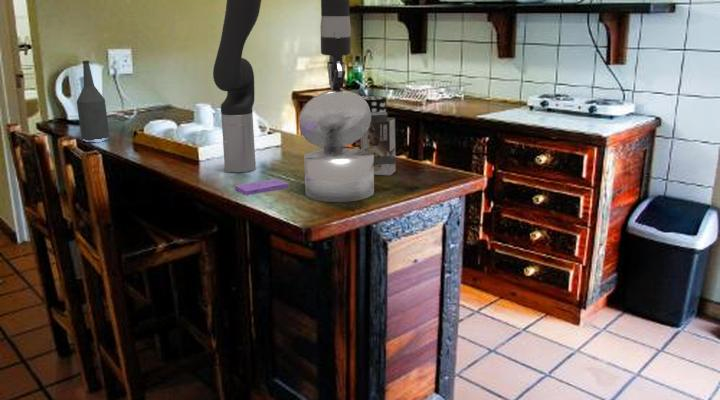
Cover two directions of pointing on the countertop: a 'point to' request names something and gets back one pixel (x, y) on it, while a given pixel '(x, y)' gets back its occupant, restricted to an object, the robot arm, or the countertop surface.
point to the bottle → (91, 109)
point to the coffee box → (381, 144)
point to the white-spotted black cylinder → (375, 105)
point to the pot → (341, 174)
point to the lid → (337, 119)
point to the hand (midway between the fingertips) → (336, 104)
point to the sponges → (261, 186)
